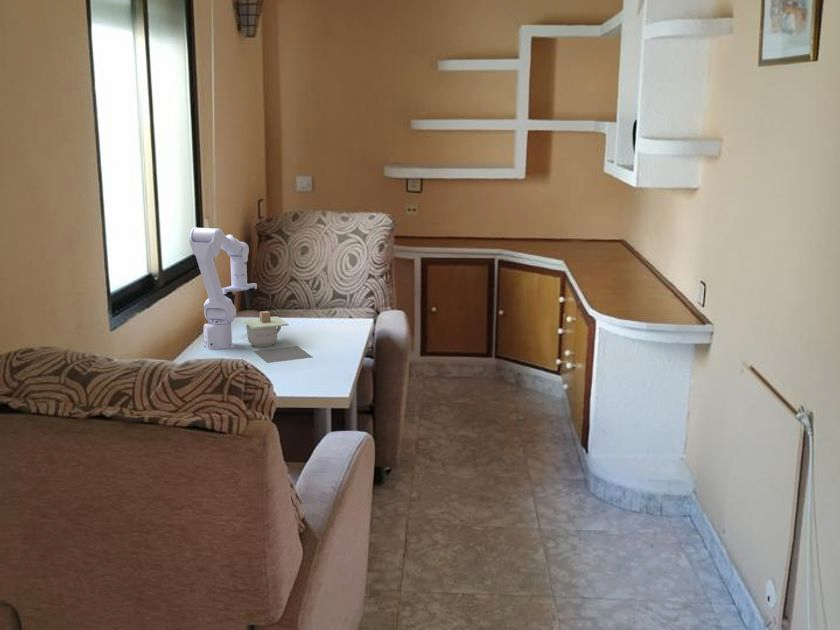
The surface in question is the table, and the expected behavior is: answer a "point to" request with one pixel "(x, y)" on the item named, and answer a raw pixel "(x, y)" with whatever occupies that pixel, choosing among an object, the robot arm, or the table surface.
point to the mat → (282, 354)
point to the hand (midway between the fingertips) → (240, 310)
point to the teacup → (262, 336)
